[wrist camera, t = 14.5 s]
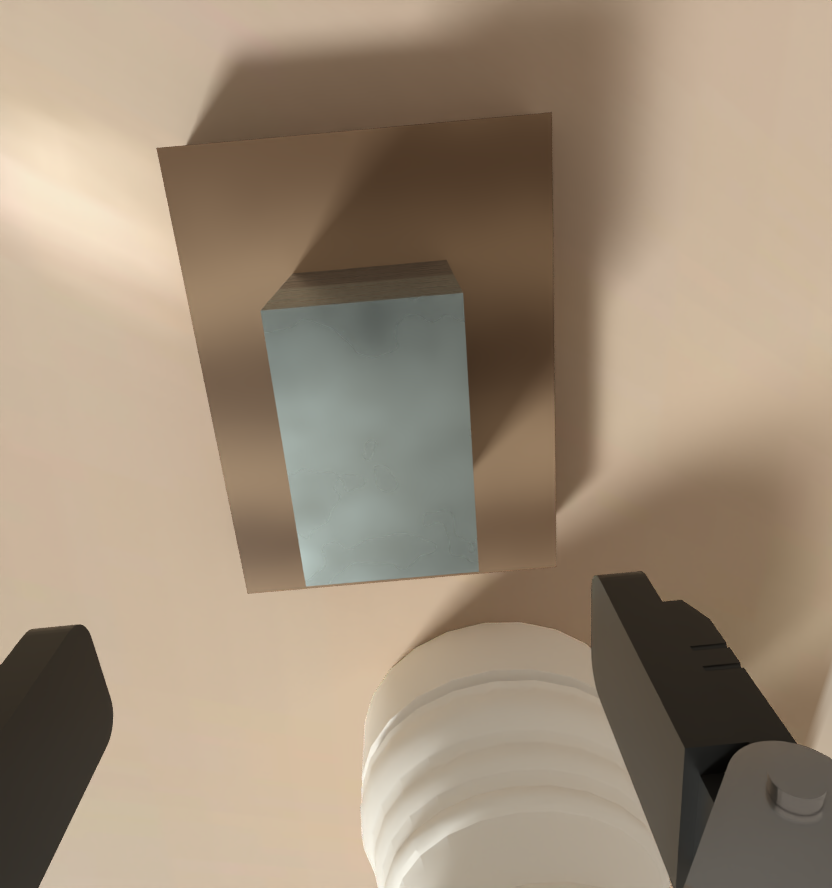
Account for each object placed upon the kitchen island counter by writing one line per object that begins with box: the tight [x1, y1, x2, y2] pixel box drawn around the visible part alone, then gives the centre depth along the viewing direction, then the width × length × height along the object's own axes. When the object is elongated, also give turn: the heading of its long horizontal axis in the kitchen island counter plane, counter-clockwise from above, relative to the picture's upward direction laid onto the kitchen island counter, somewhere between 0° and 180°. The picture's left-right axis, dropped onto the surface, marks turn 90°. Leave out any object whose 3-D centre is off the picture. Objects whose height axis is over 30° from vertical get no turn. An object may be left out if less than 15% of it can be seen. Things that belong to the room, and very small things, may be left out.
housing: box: [260, 260, 479, 586], centre depth 22 cm, size 5×8×6 cm, turn 5°
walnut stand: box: [157, 112, 556, 594], centre depth 26 cm, size 16×12×3 cm
